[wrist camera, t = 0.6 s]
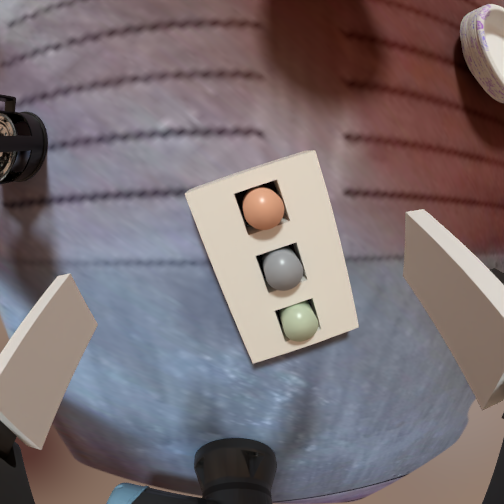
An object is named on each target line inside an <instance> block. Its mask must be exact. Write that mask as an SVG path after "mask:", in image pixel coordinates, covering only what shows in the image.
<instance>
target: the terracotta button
mask: <svg viewBox="0 0 504 504" xmlns="http://www.w3.org/2000/svg"><path fill="white" fill-rule="evenodd" d="M242 208H243V212H244V216H245V219H246V221H247V222H248V223H249V224H250V225H251V226H252V227H254V228H256V229H259V230H268V229H271V228H273V227H275V226H277V225H278V224H279V223H280V221H281V220H282V218H283V215H284V204H283V201H282V200H281V198H280V197H279V196H278V195H277V194H276V193H275V192H274V191H273V190H271V189H270V188H268V187H265V186H256V187H253V188H251V189H249V190H248V191H247V192H246V193H245V195H244V197H243V200H242Z"/></svg>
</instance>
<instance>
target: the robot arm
mask: <svg viewBox="0 0 504 504" xmlns="http://www.w3.org/2000/svg"><path fill="white" fill-rule="evenodd" d="M403 277H404V278H405V280H406V281H407V283H408V284H409V286H410V287H411V289H412V290H413V292H414V293H415V295H416V296H417V298H418V299H419V301H420V302H421V304H422V305H423V307H424V308H425V310H426V312H427V313H428V315H429V316H430V318H431V320H432V321H433V323H434V324H435V326H436V328H437V329H438V331H439V333H440V334H441V336H442V338H443V339H444V341H445V343H446V344H447V346H448V348H449V349H450V351H451V353H452V355H453V356H454V358H455V360H456V362H457V364H458V365H459V367H460V369H461V371H462V373H463V374H464V376H465V378H466V380H467V382H468V384H469V386H470V388H471V389H472V391H473V393H474V395H475V397H476V399H477V401H478V403H479V405H480V407H481V409H482V410H484V409H486V408H488V407H490V406H493V405H495V404H497V403H498V402H501V401H503V399H504V273H502V272H500V271H499V270H497V269H495V268H494V269H491V270H489V269H488V268H487V267H486V266H485V265H484V264H483V263H482V262H481V261H480V260H479V259H478V258H477V257H476V256H475V255H474V254H473V253H472V252H471V251H470V250H469V249H468V248H466V247H465V246H464V245H463V244H462V243H461V242H460V241H459V240H458V239H457V238H456V237H455V236H454V235H452V234H451V233H450V232H449V231H448V230H447V229H446V228H445V227H444V226H442V225H441V224H440V223H439V222H438V221H437V220H436V219H434V218H433V217H432V216H431V215H430V214H429V213H427V212H426V211H425V210H424V209H421V210H415V211H409V212H406V216H405V252H404V270H403ZM97 325H98V324H97V322H96V321H95V319H94V317H93V315H92V314H91V312H90V310H89V308H88V306H87V304H86V303H85V301H84V299H83V297H82V295H81V293H80V291H79V289H78V287H77V286H76V284H75V282H74V280H73V278H72V276H71V274H65V275H60V276H57V277H56V279H55V280H54V281H53V282H52V284H51V285H50V286H49V287H48V289H47V290H46V291H45V292H44V294H43V295H42V296H41V298H40V299H39V300H38V302H37V303H36V304H35V305H34V307H33V308H32V309H31V311H30V312H29V313H28V315H27V316H26V318H25V319H24V320H23V322H22V323H21V324H20V326H19V327H18V329H17V330H16V332H15V333H14V334H13V336H12V337H11V339H10V340H9V342H8V343H7V345H6V346H5V348H4V349H3V351H2V352H1V354H0V504H35V502H34V499H33V496H32V493H31V489H30V486H29V482H28V478H27V475H26V471H25V467H24V462H23V459H22V454H21V450H20V447H19V445H18V444H17V443H16V442H14V441H15V439H16V437H18V438H19V439H20V440H21V441H22V442H24V443H25V444H26V445H27V446H30V447H33V448H37V449H40V450H41V449H42V447H43V444H44V442H45V439H46V437H47V434H48V432H49V429H50V427H51V424H52V422H53V419H54V417H55V414H56V412H57V410H58V407H59V405H60V403H61V400H62V398H63V396H64V394H65V391H66V389H67V387H68V385H69V383H70V380H71V378H72V376H73V374H74V372H75V370H76V368H77V365H78V363H79V361H80V359H81V357H82V355H83V353H84V351H85V349H86V347H87V345H88V343H89V341H90V339H91V337H92V335H93V333H94V331H95V329H96V327H97ZM502 418H503V419H504V413H503V416H502ZM276 468H277V464H276V457H275V454H274V452H273V450H272V449H271V448H270V447H268V446H267V445H265V444H263V443H261V442H258V441H254V440H250V439H241V438H230V439H222V440H217V441H213V442H210V443H208V444H206V445H204V446H203V447H201V448H200V449H199V450H198V451H197V452H196V454H195V460H194V469H195V472H196V475H197V478H198V481H199V484H200V486H201V489H202V492H203V498H198V497H192V496H185V495H181V494H176V493H170V492H166V491H161V490H157V489H152V488H149V486H139V485H134V484H130V483H121V484H119V485H118V486H116V487H115V489H114V490H113V491H112V493H111V495H110V497H109V499H108V501H107V504H272V499H271V487H272V483H273V480H274V476H275V472H276ZM482 504H504V439H503V443H502V447H501V450H500V454H499V457H498V460H497V464H496V467H495V470H494V473H493V476H492V479H491V482H490V485H489V487H488V490H487V492H486V495H485V498H484V500H483V503H482Z"/></svg>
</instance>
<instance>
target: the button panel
mask: <svg viewBox="0 0 504 504" xmlns="http://www.w3.org/2000/svg"><path fill="white" fill-rule="evenodd" d="M271 181H274V184H275V188H276V191H277V194H278V196H279V197H280V198H281V200H282V201H283V204H284V215H283V218H282V220H281V221H280V223H279V224H278V225H277V226H275V227H273V228H271V229H268V230H259V229H256V228H254V227H252V226H251V225H250V226H247V227H246V224H245V221H244V218H243V216H242V213H241V210H240V207H239V204H238V201H237V198H236V195H235V193H238V192H241V191H244V190H247V189H249V188H252V187H255V186H258V185H261V184H265V183H268V182H271ZM185 196H186V199H187V201H188V204H189V207H190V209H191V212H192V215H193V217H194V220H195V223H196V225H197V228H198V231H199V233H200V236H201V238H202V241H203V243H204V246H205V249H206V251H207V254H208V256H209V259H210V261H211V264H212V266H213V269H214V271H215V274H216V276H217V279H218V281H219V284H220V286H221V289H222V291H223V294H224V296H225V299H226V301H227V303H228V306H229V308H230V311H231V313H232V315H233V318H234V320H235V323H236V325H237V327H238V330H239V332H240V334H241V337H242V339H243V342H244V344H245V346H246V349H247V351H248V353H249V356H250V358H251V360H252V362H253V363H257V362H260V361H263V360H266V359H270V358H273V357H276V356H279V355H282V354H285V353H288V352H291V351H294V350H297V349H300V348H303V347H306V346H309V345H312V344H315V343H318V342H320V341H323V340H326V339H329V338H331V337H334V336H337V335H340V334H342V333H345V332H347V331H350V330H353V329H355V328H358V327H359V326H358V321H357V315H356V310H355V305H354V300H353V296H352V291H351V286H350V281H349V277H348V272H347V268H346V264H345V259H344V255H343V251H342V247H341V242H340V238H339V234H338V230H337V226H336V223H335V219H334V215H333V211H332V207H331V204H330V200H329V196H328V193H327V189H326V186H325V182H324V179H323V175H322V172H321V168H320V165H319V162H318V158H317V155H316V152H315V150H314V151H303V152H300V153H297V154H293V155H290V156H287V157H284V158H280V159H277V160H274V161H271V162H268V163H265V164H262V165H258V166H255V167H252V168H249V169H246V170H243V171H240V172H237V173H234V174H232V175H229V176H226V177H223V178H220V179H217V180H214V181H212V182H209V183H206V184H203V185H201V186H198V187H195V188H192V189H190V190H188V191H187V192H186V193H185ZM290 244H293V245H294V248H295V252H296V255H297V258H298V259H299V261H300V263H301V264H302V267H303V277H302V279H301V281H300V283H299V284H298V285H297V286H296V287H294V288H292V289H290V290H286V291H280V290H276V289H274V288H272V287H271V286H270V285H269V284H268V282H267V280H266V279H264V276H263V273H262V270H261V267H260V264H259V262H258V259H257V255H260V254H263V253H266V252H269V251H272V250H275V249H278V248H281V247H284V246H287V245H290ZM308 299H309V300H310V303H311V307H312V310H313V312H314V314H315V316H316V318H317V320H318V329H317V331H316V333H315V334H314V335H313V336H312V337H311V338H310V339H308V340H305V341H301V342H296V341H292V340H290V339H289V338H288V337H287V336H286V335H285V332H284V329H283V326H282V325H280V322H279V319H278V316H277V314H276V310H279V309H282V308H285V307H288V306H291V305H294V304H297V303H300V302H302V301H305V300H308Z"/></svg>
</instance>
